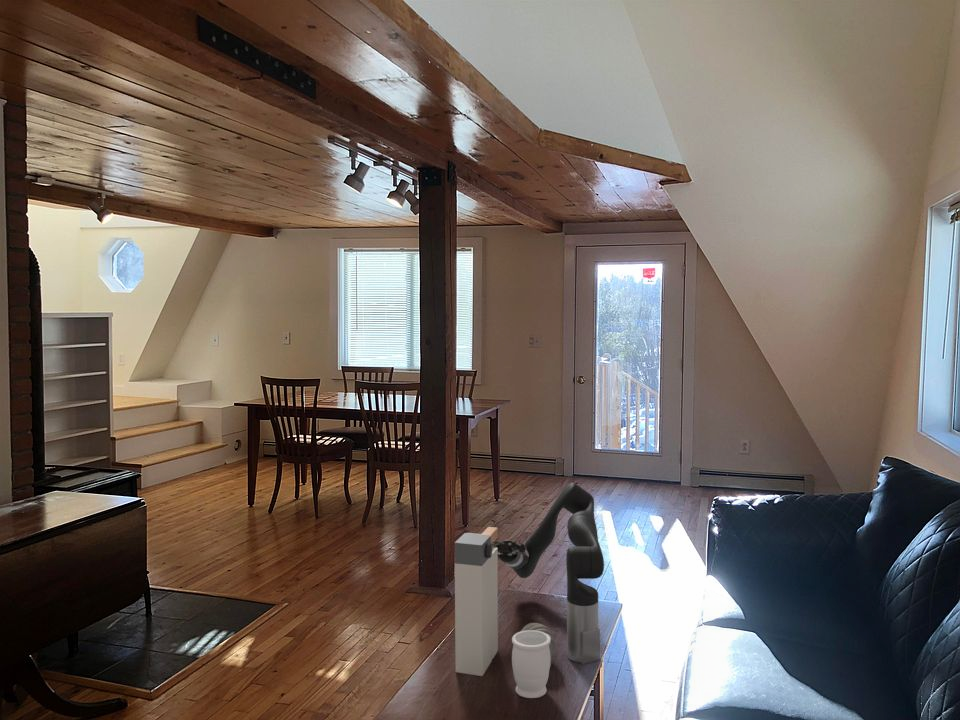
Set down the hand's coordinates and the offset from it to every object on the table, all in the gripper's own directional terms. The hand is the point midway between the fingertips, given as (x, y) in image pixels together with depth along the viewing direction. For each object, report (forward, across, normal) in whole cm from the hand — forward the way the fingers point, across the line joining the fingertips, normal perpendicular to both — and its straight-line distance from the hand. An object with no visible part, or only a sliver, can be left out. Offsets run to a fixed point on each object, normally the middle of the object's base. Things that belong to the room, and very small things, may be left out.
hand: (499, 543), depth 248 cm
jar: (+17, +19, +42) cm, 50 cm away
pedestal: (+7, 0, +36) cm, 37 cm away
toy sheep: (+3, +17, +34) cm, 38 cm away
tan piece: (+15, 0, +4) cm, 16 cm away
